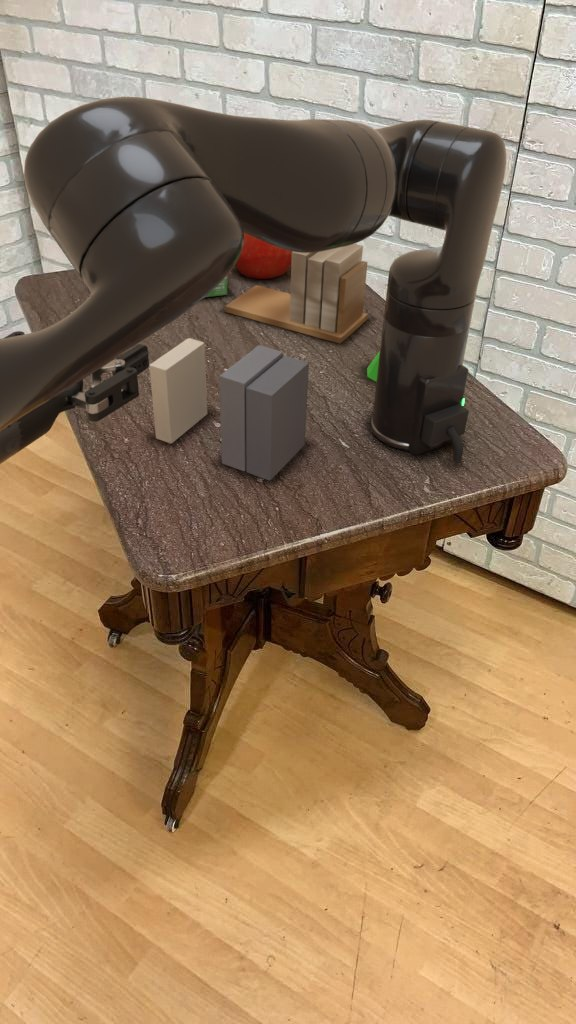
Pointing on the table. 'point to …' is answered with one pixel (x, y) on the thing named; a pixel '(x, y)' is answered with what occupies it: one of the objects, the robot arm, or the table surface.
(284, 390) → the grey books
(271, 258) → the apple
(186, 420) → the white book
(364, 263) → the light brown book rack
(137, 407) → the table surface
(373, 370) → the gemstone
